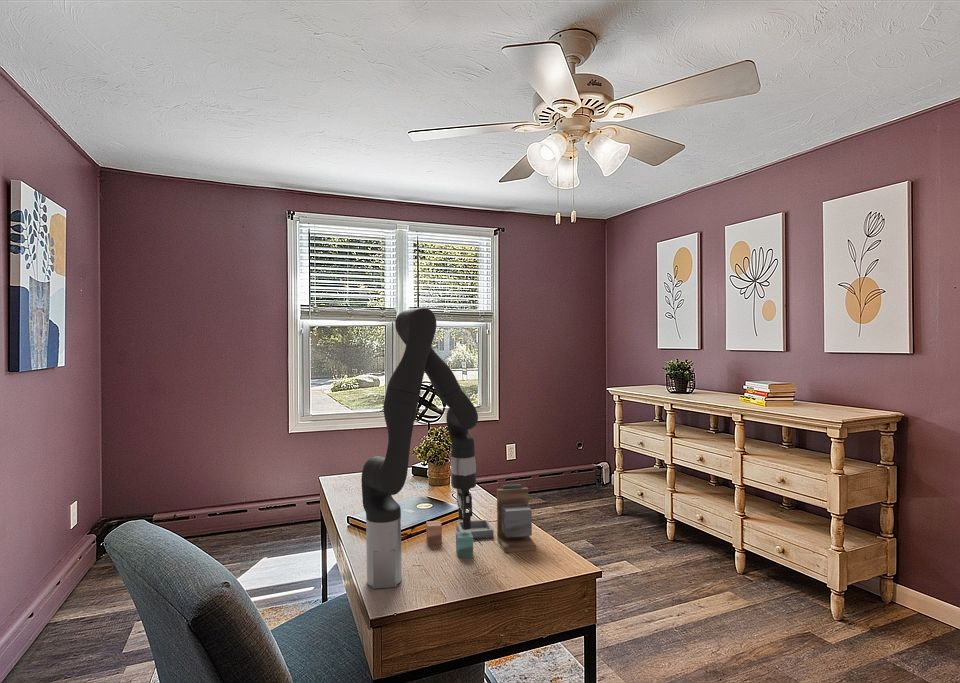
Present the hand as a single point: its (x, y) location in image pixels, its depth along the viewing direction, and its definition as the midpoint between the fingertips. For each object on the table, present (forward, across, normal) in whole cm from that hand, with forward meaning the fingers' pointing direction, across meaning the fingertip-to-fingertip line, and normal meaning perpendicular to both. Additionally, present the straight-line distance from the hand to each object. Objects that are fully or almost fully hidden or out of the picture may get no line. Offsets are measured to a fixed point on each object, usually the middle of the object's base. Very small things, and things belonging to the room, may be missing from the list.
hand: (464, 524), depth 172 cm
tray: (+9, -16, +6) cm, 20 cm away
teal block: (+9, 0, 0) cm, 9 cm away
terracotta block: (+9, -12, -8) cm, 17 cm away
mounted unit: (+9, -3, +17) cm, 19 cm away
